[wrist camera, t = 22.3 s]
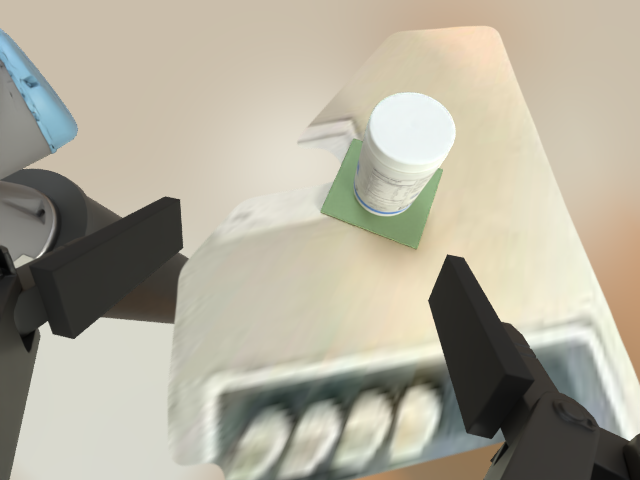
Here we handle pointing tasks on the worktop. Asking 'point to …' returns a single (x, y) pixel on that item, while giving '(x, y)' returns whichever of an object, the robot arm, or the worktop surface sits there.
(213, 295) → the worktop surface
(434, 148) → the supplement tub
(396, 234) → the mat
